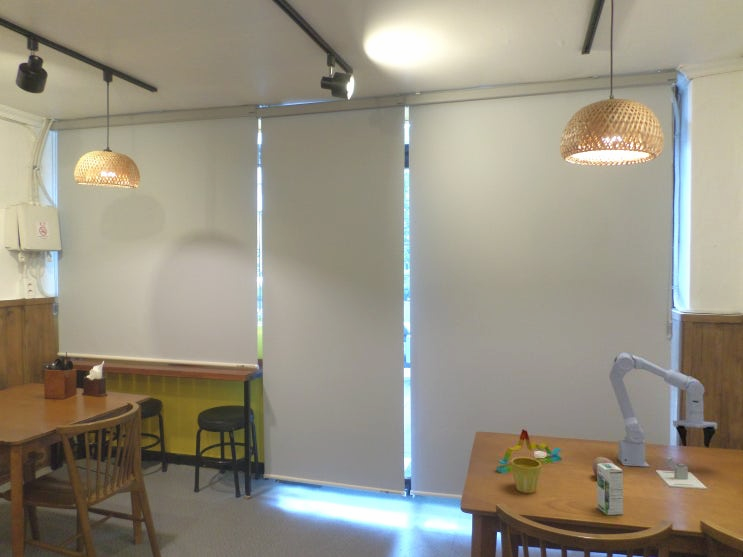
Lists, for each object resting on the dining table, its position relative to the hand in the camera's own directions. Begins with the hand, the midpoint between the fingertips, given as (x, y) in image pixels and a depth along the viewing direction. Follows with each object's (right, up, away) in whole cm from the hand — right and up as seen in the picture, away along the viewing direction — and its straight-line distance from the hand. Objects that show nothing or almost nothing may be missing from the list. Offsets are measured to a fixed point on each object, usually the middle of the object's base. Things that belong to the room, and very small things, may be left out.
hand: (695, 446), depth 189 cm
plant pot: (-70, -11, -14) cm, 72 cm away
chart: (-61, -11, +8) cm, 63 cm away
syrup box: (-48, -11, -31) cm, 58 cm away
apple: (-38, -10, -6) cm, 40 cm away
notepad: (-11, -10, -8) cm, 17 cm away
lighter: (-12, -9, -8) cm, 17 cm away
